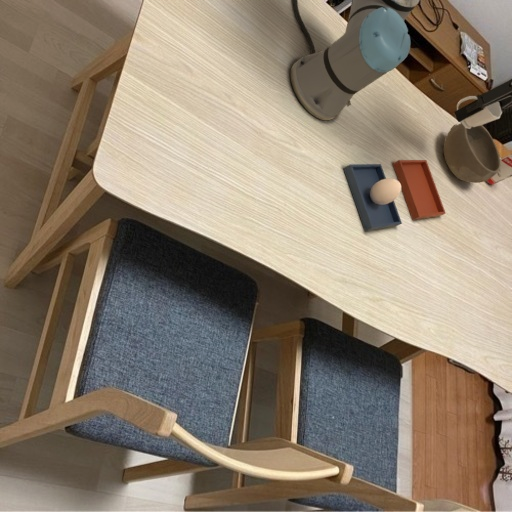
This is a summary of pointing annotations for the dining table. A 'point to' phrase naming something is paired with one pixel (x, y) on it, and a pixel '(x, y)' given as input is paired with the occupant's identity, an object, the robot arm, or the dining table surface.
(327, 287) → the dining table surface
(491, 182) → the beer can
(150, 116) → the dining table surface
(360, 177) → the blue tray
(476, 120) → the cup
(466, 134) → the bowl
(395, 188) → the egg
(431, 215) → the terracotta tray
